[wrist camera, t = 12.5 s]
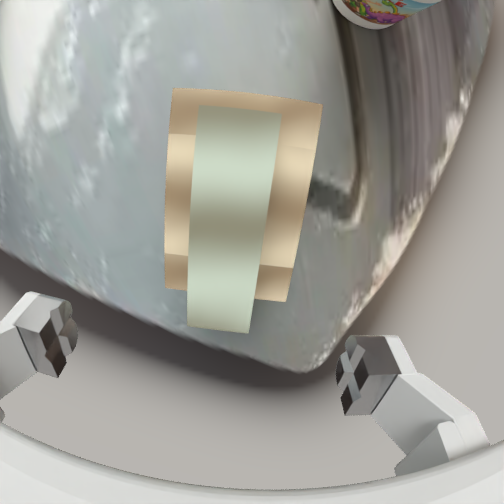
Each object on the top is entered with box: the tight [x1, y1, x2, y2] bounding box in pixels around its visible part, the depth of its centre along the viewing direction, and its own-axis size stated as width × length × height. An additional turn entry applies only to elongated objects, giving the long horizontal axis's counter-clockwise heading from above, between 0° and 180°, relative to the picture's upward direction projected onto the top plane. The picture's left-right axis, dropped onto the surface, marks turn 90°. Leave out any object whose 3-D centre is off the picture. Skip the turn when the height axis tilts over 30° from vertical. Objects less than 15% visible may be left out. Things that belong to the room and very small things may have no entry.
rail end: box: [187, 105, 282, 333], centre depth 19 cm, size 12×4×9 cm, turn 173°
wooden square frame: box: [165, 88, 323, 302], centre depth 25 cm, size 14×9×12 cm, turn 173°
